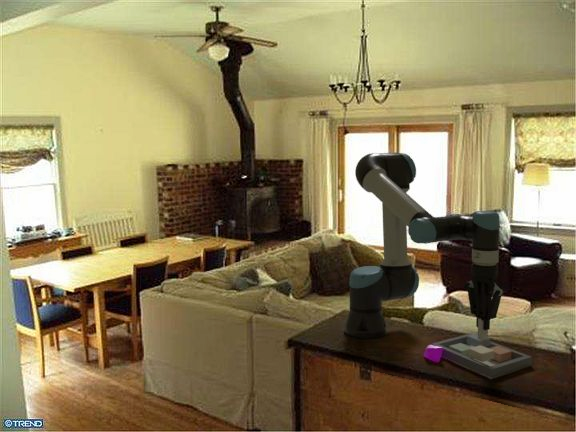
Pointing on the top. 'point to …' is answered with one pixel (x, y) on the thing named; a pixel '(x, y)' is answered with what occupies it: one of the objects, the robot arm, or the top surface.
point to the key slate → (478, 341)
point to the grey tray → (485, 368)
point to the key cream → (481, 353)
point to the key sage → (460, 348)
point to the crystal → (433, 353)
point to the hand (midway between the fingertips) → (482, 339)
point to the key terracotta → (501, 354)
